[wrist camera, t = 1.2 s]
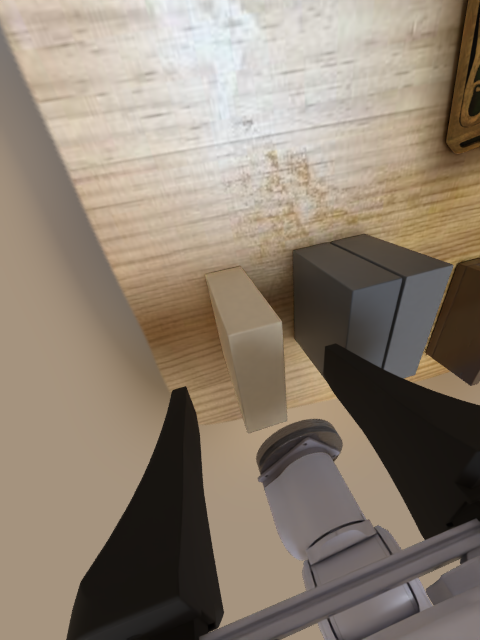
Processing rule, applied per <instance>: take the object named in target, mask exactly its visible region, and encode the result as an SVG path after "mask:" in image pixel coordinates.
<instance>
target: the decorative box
mask: <svg viewBox="0 0 480 640" xmlns="http://www.w3.org/2000/svg"><path fill="white" fill-rule="evenodd" d="M446 143H447V145H448V146H449V147H450V148H451V149H452V151H453V152H454V153H455V154H457V153H463V152H466V151H469V150H471V149H474V148H477V147H479V146H480V0H468V6H467V12H466V18H465V25H464V31H463V37H462V44H461V50H460V57H459V63H458V69H457V76H456V82H455V89H454V95H453V101H452V108H451V114H450V120H449V127H448V133H447V140H446Z"/></svg>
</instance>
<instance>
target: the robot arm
mask: <svg viewBox="0 0 480 640" xmlns="http://www.w3.org/2000/svg"><path fill="white" fill-rule="evenodd" d="M323 375H324V377H325V379H326V381H327V383H328V384H329V386H330V388H331V389H332V391H333V392H334V394H335V395H336V397H337V398H338V399H339V401H340V402H341V403H342V404H343V406H344V407H345V408H346V410H347V411H348V412H349V414H350V415H351V416H352V417H353V419H354V420H355V422H356V423H357V424H358V425H359V427H360V428H361V429H362V431H363V432H364V434H365V435H366V436H367V438H368V440H369V441H370V443H371V444H372V446H373V448H374V449H375V451H376V453H377V454H378V456H379V458H380V459H381V461H382V462H383V464H384V466H385V468H386V469H387V471H388V473H389V474H390V476H391V478H392V480H393V482H394V483H395V485H396V487H397V489H398V491H399V492H400V494H401V496H402V498H403V500H404V502H405V503H406V505H407V507H408V509H409V511H410V513H411V515H412V517H413V519H414V520H415V523H416V525H417V527H418V529H419V531H420V533H421V535H422V536H423V538H424V539H425V540H424V541H422V542H420V543H417V544H415V545H413V546H411V547H408V548H406V549H404V550H401V548H400V547H399V545H398V543H397V542H396V540H395V539H394V538H393V536H392V535H391V534H390V533H389V531H388V530H386V529H384V528H382V527H381V526H375V527H373V525H372V523H371V522H370V520H366V518H365V516H364V514H363V513H362V511H361V509H360V507H359V506H358V504H357V502H356V500H355V498H354V497H353V495H352V493H351V491H350V490H349V488H348V486H347V484H346V483H345V481H344V479H343V478H342V476H341V474H340V472H339V470H338V469H337V467H336V465H335V464H334V462H333V460H332V459H333V458H335V457H336V456H337V455H339V453H340V452H339V450H338V449H335V448H333V447H331V446H328V445H326V444H324V443H322V442H319V441H317V440H315V439H312V438H310V437H306V438H305V439H303V440H302V441H301V442H300V443H299V444H297V445H296V446H295V447H294V448H293V449H291V450H290V451H289V452H288V453H287V454H285V455H284V456H283V457H282V458H280V459H279V460H278V461H277V462H276V463H274V464H273V465H272V466H271V467H270V468H268V469H267V470H266V471H265V472H264V473H262V474H261V475H260V476H259V477H258V481H259V482H261V483H263V486H264V490H265V493H266V496H267V499H268V503H269V506H270V509H271V512H272V516H273V519H274V522H275V525H276V529H277V531H278V534H279V536H280V539H281V540H282V543H283V544H284V546H285V548H286V549H287V550H288V552H289V553H290V554H291V555H292V556H294V557H295V558H296V559H298V560H302V561H303V560H305V561H304V563H303V565H304V566H303V570H302V575H303V580H304V584H305V588H306V591H305V592H303V593H301V594H298V595H296V596H294V597H291V598H289V599H287V600H284V601H282V602H280V603H277V604H275V605H273V606H270V607H268V608H266V609H263V610H261V611H259V612H256V613H254V614H252V615H249V616H247V617H245V618H242V619H240V620H238V621H235V622H233V623H230V624H228V625H226V626H224V627H221V628H219V629H217V628H218V627H219V625H220V622H221V620H222V617H223V614H224V611H223V605H222V600H221V594H220V588H219V583H218V577H217V571H216V565H215V560H214V554H213V549H212V542H211V536H210V529H209V523H208V517H207V510H206V503H205V497H204V489H203V478H202V462H201V447H200V446H201V445H200V433H199V427H198V421H197V415H196V411H195V409H194V406H193V403H192V401H191V398H190V395H189V393H188V390H187V387H186V386H185V387H182V388H178V389H175V390H173V391H172V393H171V398H170V403H169V407H168V411H167V414H166V418H165V421H164V424H163V427H162V430H161V433H160V436H159V439H158V441H157V444H156V447H155V449H154V452H153V455H152V457H151V459H150V462H149V464H148V466H147V469H146V471H145V473H144V475H143V477H142V480H141V481H140V483H139V485H138V487H137V489H136V491H135V494H134V496H133V497H132V499H131V501H130V503H129V505H128V507H127V508H126V510H125V512H124V514H123V515H122V517H121V519H120V521H119V522H118V524H117V526H116V528H115V529H114V531H113V533H112V534H111V536H110V538H109V539H108V541H107V542H106V544H105V546H104V547H103V549H102V550H101V552H100V553H99V555H98V556H97V558H96V559H95V561H94V562H93V564H92V565H91V567H90V569H89V570H88V572H87V573H86V575H85V576H84V578H83V579H82V581H81V583H80V586H79V589H78V593H77V596H76V599H75V603H74V606H73V610H72V614H71V619H70V624H69V629H68V634H67V639H66V640H281V639H283V638H285V637H287V636H289V635H292V634H294V633H296V632H298V631H301V630H303V629H305V628H307V627H310V626H312V625H314V624H316V623H318V626H319V628H320V631H321V633H322V635H323V638H324V640H480V405H476V404H472V403H469V402H466V401H462V400H459V399H456V398H453V397H449V396H447V395H444V394H441V393H438V392H435V391H432V390H430V389H427V388H424V387H422V386H419V385H417V384H415V383H412V382H410V381H407V380H405V379H403V378H401V377H399V376H396V375H394V374H392V373H390V372H388V371H386V370H384V369H382V368H380V367H378V366H376V365H374V364H372V363H371V362H369V361H367V360H365V359H363V358H361V357H360V356H358V355H356V354H354V353H353V352H351V351H349V350H347V349H345V348H344V347H342V346H340V345H338V344H336V343H335V344H331V345H328V346H325V352H324V367H323ZM459 559H461V560H460V564H461V565H459V566H457V567H456V568H454V569H452V570H450V571H449V572H446V573H444V574H443V575H441V577H440V579H439V580H438V581H436V582H435V583H434V584H432V585H431V586H429V587H428V588H427V589H426V592H425V590H424V588H423V586H422V584H421V582H420V580H419V577H421V576H423V575H425V574H427V573H430V572H432V571H434V570H436V569H438V568H441V567H443V566H445V565H447V564H449V563H452V562H454V561H456V560H459ZM426 593H427V594H426ZM427 595H428V596H427ZM428 597H429V598H430V600H431V602H432V603H433V605H434V606H433V605H432V604H431V602H430V600H429V599H428ZM215 629H216V630H215ZM212 630H214V631H212ZM210 631H212V632H210Z"/></svg>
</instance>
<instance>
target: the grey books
mask: <svg viewBox="0 0 480 640" xmlns="http://www.w3.org/2000/svg"><path fill="white" fill-rule="evenodd" d="M452 268H453V265H452V264H450V263H447V262H444V261H441V260H438V259H435V258H432V257H429V256H427V255H424V254H421V253H418V252H415V251H412V250H409V249H406V248H404V247H401V246H398V245H395V244H392V243H389V242H386V241H384V240H381V239H378V238H375V237H372V236H369V235H366V234H363V235H359V236H354V237H350V238H345V239H341V240H337V241H332V242H331V244H330V243H324V244H319V245H315V246H311V247H306V248H302V249H297V250H293V282H294V331H295V340H296V341H297V342H298V344H299V345H300V346H301V348H302V349H303V351H304V352H305V353H306V355H307V356H308V357H309V359H310V360H311V361H312V363H313V364H314V365H315V367H316V368H317V369H318V371H319V372H320V373H321V375H322V376H323V377H324V375H323V367H324V352H325V346H328V345H331V344H335V343H336V344H338V345H340V346H342V347H344V348H345V349H347V350H349V351H351V352H353V353H354V354H356V355H358V356H360V357H361V358H363V359H365V360H367V361H369V362H371V363H372V364H374V365H376V366H378V367H380V368H382V369H384V370H386V371H388V372H390V373H392V374H394V375H396V376H399V377H401V378H406V377H409V376H412V375H415V374H416V371H417V368H418V365H419V362H420V359H421V356H422V354H423V351H424V348H425V345H426V342H427V339H428V337H429V334H430V331H431V328H432V325H433V322H434V320H435V317H436V314H437V311H438V308H439V305H440V302H441V300H442V297H443V294H444V291H445V288H446V285H447V283H448V280H449V277H450V274H451V271H452ZM324 379H325V377H324ZM325 380H326V379H325Z"/></svg>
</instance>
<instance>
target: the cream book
mask: <svg viewBox="0 0 480 640" xmlns="http://www.w3.org/2000/svg"><path fill="white" fill-rule="evenodd" d="M205 277H206V282H207V286H208V290H209V295H210V299H211V303H212V308H213V312H214V316H215V321H216V325H217V329H218V334H219V338H220V343H221V347H222V351H223V356H224V359H225V362H226V365H227V369H228V372H229V375H230V378H231V381H232V385H233V388H234V391H235V394H236V398H237V401H238V404H239V407H240V410H241V414H242V417H243V420H244V423H245V426H246V430H247V432H248V433H252V432H254V431H258V430H261V429H264V428H267V427H270V426H273V425H276V424H279V423H283V422H286V421H287V405H286V386H285V367H284V348H283V329H282V321H281V319H280V318H279V317H278V315H277V314H276V313H275V311H274V310H273V309H272V307H271V306H270V305H269V303H268V302H267V301H266V299H265V298H264V297H263V295H262V294H261V293H260V291H259V290H258V289H257V287H256V286H255V285H254V283H253V282H252V281H251V279H250V278H249V277H248V275H247V274H246V273H245V271H244V270H243V269H242V267H241V266H239V267H235V268H231V269H226V270H222V271H217V272H213V273H209V274H205Z"/></svg>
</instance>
